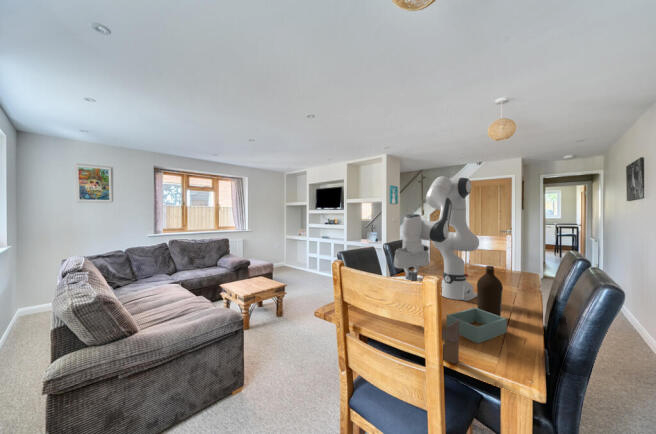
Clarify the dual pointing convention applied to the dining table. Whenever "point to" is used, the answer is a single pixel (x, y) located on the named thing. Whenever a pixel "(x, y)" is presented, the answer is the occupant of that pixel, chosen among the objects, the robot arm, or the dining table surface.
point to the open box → (479, 334)
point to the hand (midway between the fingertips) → (411, 275)
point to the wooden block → (451, 343)
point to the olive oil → (489, 292)
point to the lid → (411, 276)
